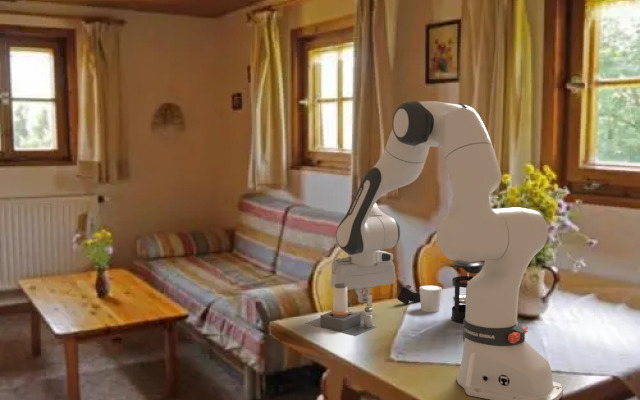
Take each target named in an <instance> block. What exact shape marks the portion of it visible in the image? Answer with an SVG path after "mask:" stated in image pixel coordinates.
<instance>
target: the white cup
mask: <svg viewBox="0 0 640 400" xmlns="http://www.w3.org/2000/svg"><path fill="white" fill-rule="evenodd" d="M419 293H420V302H419V303H420V310H421V311H422V312H426V313H436V312H439V311H440V309H441V301H442V294H443V287H441V286H439V285H435V284H434V285H433V284H432V285H431V284H424V285H421V286H419Z"/></svg>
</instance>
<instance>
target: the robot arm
mask: <svg viewBox="0 0 640 400" xmlns="http://www.w3.org/2000/svg"><path fill="white" fill-rule="evenodd" d="M430 147H432V148H441V149H442V155H443V157H444V161H445V165H446V168H447V169H446V170H447V173H448V176H449V180H450V185H451V192H452V194H451V195H452V197H451V204H450V207H449V209H448V211H447V214H446V215H445V216H444V217H442V219H441V221H440V222H439V225H438V226H437V232H436V241H437V245H438V247H439V249H440V251H441V253H442V254H443V255H444V256H445V257H446V258H447V259H448V260H453V261H458V260H459V261H467V262H473V261H480V262H483V261H485V262H484V266H483V268H482V269H481V271H480V272H479V273H476V275H474V276H473V278H472V279H471V280H470V281H469V283H468V284H467V287H466V288H465V295H466V304H465V305H466V313H465V318H464V321H463V324H462V339H463V349H462V358H461V363H460V367H459V371H458V374H457V377H456V382H457V384H458V385H459V386H461V388H463V389H464V392H465V394H466V395H468V396H470V397H475V398H481V399H486V400H560V399H561V398H562V396H563V395H564V387H563V386H562V384H561V383H559V382H556V381H554V380H553V374H552V367H551V365H550V363H549V361H548V360H547V359H546V358H545V357H544V356H542V354H540V353H539V352H538V351H537V350H536V349H535V348H534V347H533V346H531V345H530V344H529V343H528V341H526V338H525V337H526V334H527V333H528V332H529V330H528V329H529V327H528V326H525V327H524V328H523V327H522V326H521V324H520V322H519V321H518V305H519V293H520V289H521V288H520V287H521V284H522V281H523V277H524V275H525V273H526V270H527V268H528V266H529V264H530V263H531V261H532V260H533V258H534V257H535V256H536V255H537V254H538V253H539V252H540V251H541V250H542V249H543V248H544V247H545V245H546V243H547V241H548V237H549V236H548V235H549V229H548V224H547V222H546V220H545V218H544V216H543V215H542V214H541V213H540V212H539V211H537V210H534V209H530V208H526V207H517V206H515V207H500V208H493V207H492V205H491V202H490V195H491V194H492V193H494V192H495V191H496V190H497V189H498V188H499V186H500V185H501V182H502V181H501V180H502V178H503V177H502V175H503V174H502V172H501V168H500V165H499V161H498V158H497V155H496V152H495V149H494V146H493V143H492V139H491V137H490V135H489V133H488V130H487V128H486V126H485V124H484V121H483V120H482V119H481V117H480V114H478V112H477V111H476V110H475V108H473V107H471V106H469V105H467V104H462V103H452V102H451V103H450V102H444V101H439V100H438V101H437V100H430V101H429V100H426V101H425V100H424V101H423V100H422V101H417V100H411V101H406V102H403V103H401V104H400V105H398V107H397V108H396V110H395V112H394V114H393V117H392V130H391V131H390V134H389V137H388V139H387V142H386V146H385V148H384V151H383V153H382V155H381V156H380V158H379V159H378V160H377V162H376V163H375V164H374V165H373V167H372V168H370V169H369V170H368V171H367V172H366V173H365V175H364V176H363V178H362V180H361V182H360V184H359V187H358V189H357V191H356V193H355V195H354V196H353V199H352V201H351V203H350V206H349V207H348V210H347V212H346V214H345V215H344V217H343V218H342V220H341V221H340V223H339V224H338V226H337V229H336V233H335V239H336V244H337V245H338V247H339V248H340V249H341V250H342V251H343V252H345V253H346V254H347V256H348V257H342V258H339V257H338V258H336V259H334V261H332V262H331V275H330V287H331V288H332V289H333V286H335V284H338V283H343V284H346V286H347V287H348V291H349V290H354V291H355V293H356V295H357V298H358V303H367V300H368V295H370V293H371V291H372V287H381V286H386V285H393V284H394V282H395V280H396V271H395V268H396V267H395V264H394V262H393V260H394V254H393V253H391V252H389V251H384V250H389V249H393V248H395V247H396V246H397V245H398V243H399V240H400V238H401V227H400V224H399V223H398V221H397V219H395V218H394V217H393V216H390V215H387V214H386V213H384V212H383V211H382V210H381V209H379V205H378V204H377V201H379V199H380V198H381V197H383V196H384V195H386V194H388V193H390V192H392V191H394V190H398V189H400V188H402V187H404V186H405V187H406V186H408V185H410V184H412V183H413V182H415V181H416V180H417V179H418V178H419V176H420V175H421V173H422V171H423V170H424V167H425V164H426V161H427V157H428V155H429V151H430ZM362 292H363V293H362Z"/></svg>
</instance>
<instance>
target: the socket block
mask: <svg viewBox="0 0 640 400" xmlns="http://www.w3.org/2000/svg"><path fill="white" fill-rule="evenodd" d="M373 320H374V318H373V314H371V315H370V316H366V314H364V315H363V323H362V322H361V313H359V312H358V313H357V312H353V311H349V315H348V316H347V317H344V318H338V317H334V316H333V315H332V310H331V311H329V312H326V313H323V314H321V315H320V317H318V318H316V319H313V320H310V321H307V322H304V324H306V325H309V326H312V327H316V328H321V329H325V330H329V331H334V332H337V333H342V334H345V335H349V336H354V337H356V336H359V335H362V334H364V333H366V332H368V331H371V330H373V329H374V330H375V329H376V328H377V326H376V325H375V326H373V324H374V323H373Z"/></svg>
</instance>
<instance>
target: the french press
mask: <svg viewBox="0 0 640 400" xmlns="http://www.w3.org/2000/svg"><path fill="white" fill-rule="evenodd" d="M484 264H485V262H483V261H473V262H467V261H459V260H453V262H452V265H453V270H456V269H460V268H461V269H463V270H464V272H466V273H467V275H460V276H459V275H458V276H454V277H452V279H451V281H452V283H451V284H452V285H453V286H454V296H453V297H452V298H453V301H454V306H452V307H451V316H450V320H451V321H452V322H454V323H457V324H461V325H463V321H464V318H465V313H466V294H460V293H461V292H460V291H461V288H465V289H466V287H467V284H468V283H469V281H470V280H471V279H472V278H473V277H474V276H471V275H470V274H472V275H473V274H478V273H479V272H480V271H481V269H482V268H483V266H484ZM462 281H464V282H462ZM465 281H467V282H465Z"/></svg>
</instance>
